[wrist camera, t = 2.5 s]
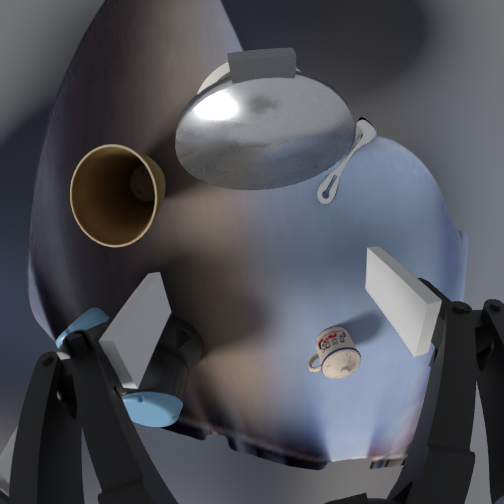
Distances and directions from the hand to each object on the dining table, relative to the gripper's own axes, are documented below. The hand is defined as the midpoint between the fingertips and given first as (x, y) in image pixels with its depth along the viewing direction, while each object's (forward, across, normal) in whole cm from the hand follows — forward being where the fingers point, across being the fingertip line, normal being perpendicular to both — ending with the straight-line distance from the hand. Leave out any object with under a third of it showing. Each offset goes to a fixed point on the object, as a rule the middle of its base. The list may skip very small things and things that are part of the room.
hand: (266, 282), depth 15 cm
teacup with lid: (+37, -13, +37) cm, 53 cm away
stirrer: (+37, -18, -5) cm, 41 cm away
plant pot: (+37, +20, -5) cm, 42 cm away
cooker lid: (+15, -2, -10) cm, 18 cm away
